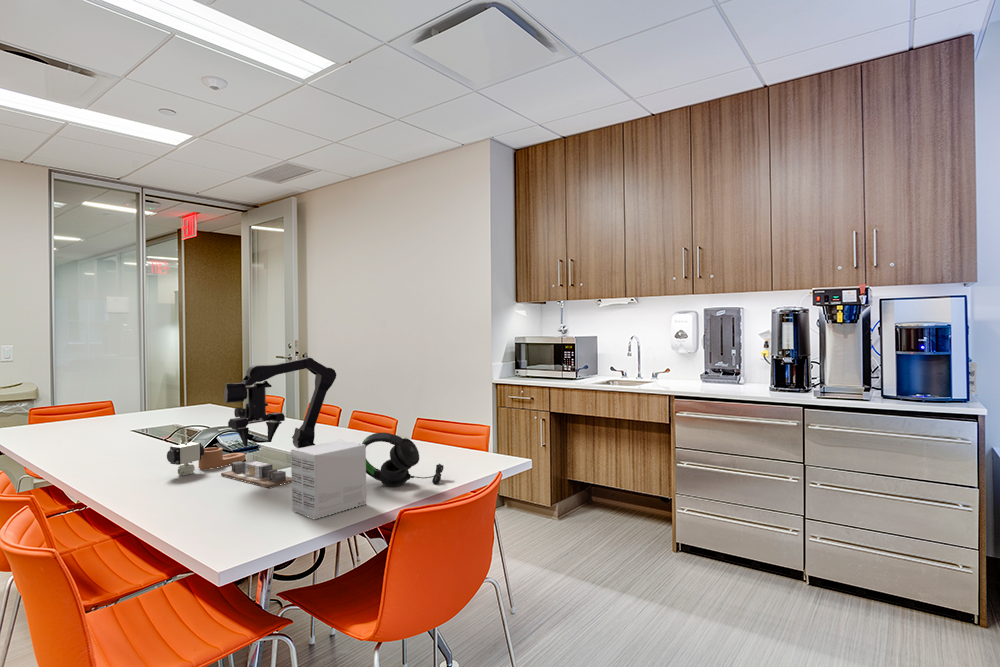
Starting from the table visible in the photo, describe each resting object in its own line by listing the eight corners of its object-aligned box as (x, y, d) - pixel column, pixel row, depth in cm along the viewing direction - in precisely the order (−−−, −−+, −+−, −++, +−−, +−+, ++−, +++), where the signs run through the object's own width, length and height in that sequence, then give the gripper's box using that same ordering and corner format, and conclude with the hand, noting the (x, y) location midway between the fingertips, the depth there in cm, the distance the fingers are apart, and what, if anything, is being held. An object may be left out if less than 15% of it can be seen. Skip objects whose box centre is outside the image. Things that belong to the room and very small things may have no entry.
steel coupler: (272, 476, 191) (272, 464, 191) (261, 478, 188) (261, 466, 188) (253, 471, 198) (253, 460, 198) (242, 474, 195) (242, 462, 195)
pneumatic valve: (205, 471, 205) (204, 439, 205) (175, 479, 194) (174, 445, 194) (195, 469, 207) (194, 438, 207) (165, 477, 196) (164, 444, 196)
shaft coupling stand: (295, 481, 189) (295, 469, 189) (268, 488, 180) (268, 475, 180) (247, 469, 206) (247, 458, 206) (221, 475, 198) (220, 464, 198)
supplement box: (341, 496, 170) (340, 439, 170) (367, 504, 162) (367, 444, 162) (290, 511, 157) (289, 448, 157) (315, 520, 148) (314, 454, 148)
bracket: (207, 471, 206) (207, 452, 206) (194, 468, 210) (193, 450, 210) (249, 460, 222) (249, 443, 222) (236, 458, 226) (235, 442, 226)
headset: (425, 510, 183) (346, 472, 180) (434, 482, 195) (360, 447, 192) (447, 474, 175) (365, 435, 172) (455, 448, 187) (379, 411, 184)
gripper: (267, 396, 207) (268, 437, 207) (219, 402, 191) (219, 446, 191) (285, 398, 201) (286, 440, 201) (236, 404, 185) (237, 450, 185)
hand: (257, 444), depth 195 cm, fingers open, 9 cm apart
